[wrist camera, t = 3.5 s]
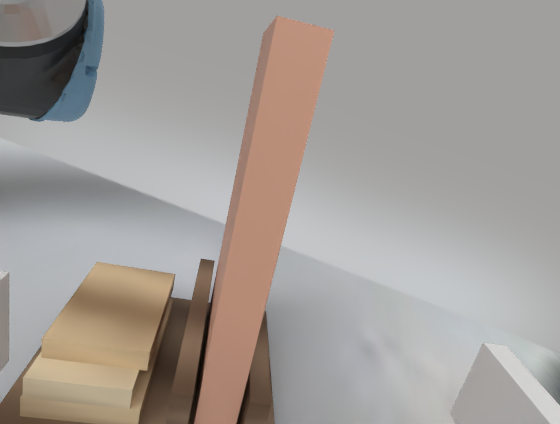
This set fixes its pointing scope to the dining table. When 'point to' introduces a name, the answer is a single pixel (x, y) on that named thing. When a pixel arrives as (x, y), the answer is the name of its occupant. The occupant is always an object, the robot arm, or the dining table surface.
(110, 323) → the offcut stack
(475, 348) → the dining table surface
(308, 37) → the sheet
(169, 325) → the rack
